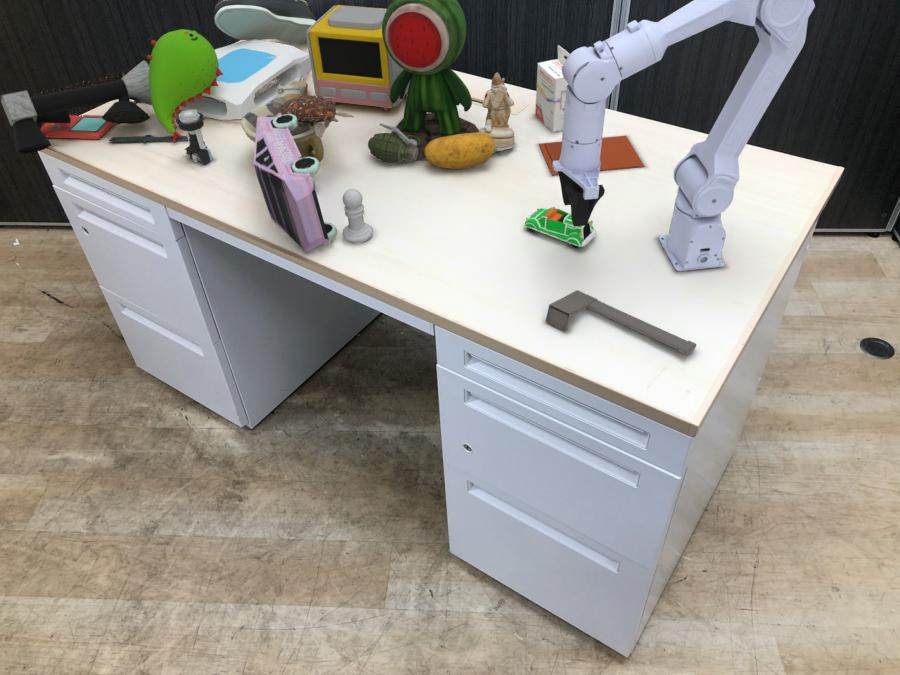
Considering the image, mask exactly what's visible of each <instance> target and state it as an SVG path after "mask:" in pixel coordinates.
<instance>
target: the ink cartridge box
mask: <svg viewBox="0 0 900 675" xmlns="http://www.w3.org/2000/svg"><path fill="white" fill-rule="evenodd" d="M570 54H571V53H570V52H568V51H567V50H566V49H564V48H563V47H562V46H560V45H559V44H557V59H556V58H555V59H550V60H545V61H540V62H537V68H536V69H537V70H536V92H535V94H536V96H535V112H534V114H535V117H537V118H538V119H539V120H540V122H542V124H544V125H545V126H546V128H548V129H549V130H550V131H551V132H552V133H555V132H556V133H557V132H560V131H563V120H564V106H565V101H566V88H567V85H568V83H567V81H566V80H565V79H564V77H563V74H562V66H563V65H564V64H565V61H566V59H567V58H569V55H570ZM565 57H566V58H565Z"/></svg>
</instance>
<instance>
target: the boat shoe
mask: <svg viewBox="0 0 900 675" xmlns="http://www.w3.org/2000/svg"><path fill="white" fill-rule="evenodd" d="M213 15H214V24H215V25H216V27H217V28H218V29H219V30H220V31H221V32H223V34H225V35H227V36H230V37H231V38H233V39H236V40H239V41H240V40H241V41H248V40H254V39H257V40H263V41H268V40H275V41H276V40H277V41H279V42H282V43H284V44H305V43H307V38H306V31H307V29H308V28H309V27H311V26H312V25H313V24H314V23H315V22H316V21H317V20H318V17H317V15H316V14H315V13H314V12H312V11H311V9H310V5H309V4H308V2H307V1H305V0H219V1H218V2H217V3H216V4H215V7H214V11H213Z"/></svg>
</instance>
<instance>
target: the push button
mask: <svg viewBox="0 0 900 675" xmlns="http://www.w3.org/2000/svg"><path fill="white" fill-rule="evenodd" d="M204 120H205V117H204V116H203V114H201V113H198V111H196V110H192V109H190V110H185V111H182V110H181V111H180V112H179V113H178V115H177V117H175V121H176V122H175V124H176V125H177V126H178V128H179V130H180V131H182V132H185V133H186V136H187V137H188V140H187V141H188V146H187V147H185V148H183V150H184V151H186V152H185V153H184V154H185V155H187V156H188V157H189V158H190V160H192V161H193V162H194V163H201V164H202V165H203V166H205V165H207V164H208V163H210V162H212V161H213V157H212V153H211V149H210V148H208V146H207V145H206V141H205V140H204V137H203V133H202V128H203V127H204V126H205V121H204Z"/></svg>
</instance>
